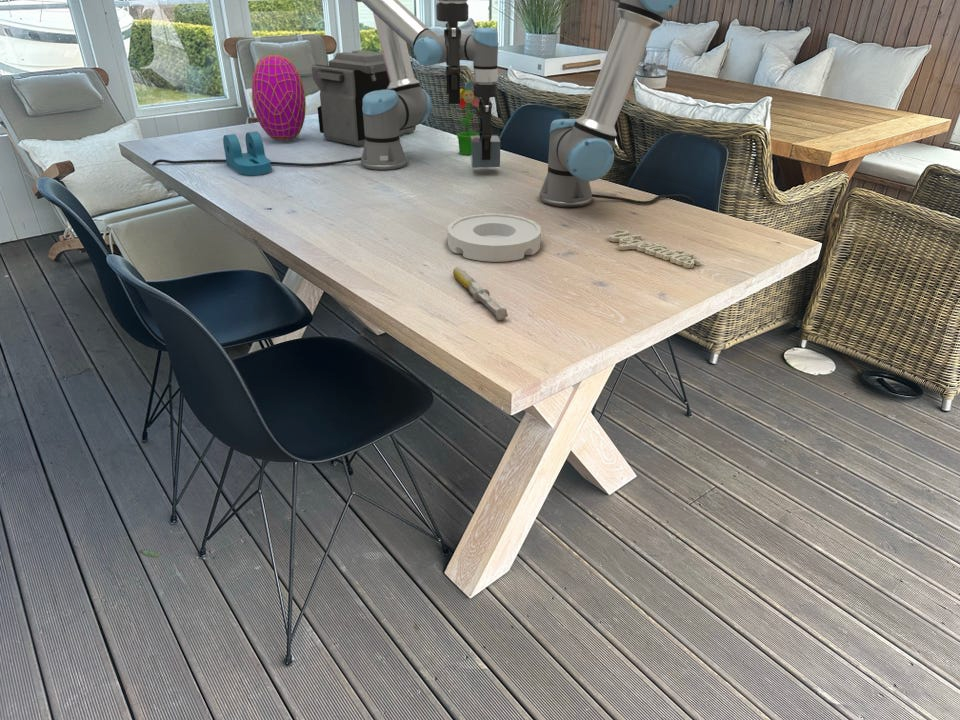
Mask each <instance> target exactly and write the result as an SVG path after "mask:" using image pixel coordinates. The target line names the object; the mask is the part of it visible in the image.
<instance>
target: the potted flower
mask: <svg viewBox="0 0 960 720" xmlns="http://www.w3.org/2000/svg"><path fill="white" fill-rule="evenodd" d="M479 102H480V101H479V99H478V97H475V96H474V94H473V82H472V81H471V80H468V81H467V82H466V83H464V88H460V104H458V106H459V108H460V109H461V110H462V109H464V108H465V107H466V112H467V113H466V118H463V119H461V120H460V123H461V124H462V125H463V126H464V125H465V126H466V131H461V132H458V133H457V134H456V138H457V142H458V150H459V153H460V155H461V154H462V155H465V156H466V155H469V156H471V136H480V133H478V132H475V131H470V119H472V118H473V117H474V115H475V114H474V113H470V105H472V106H473V107H475V108H479Z"/></svg>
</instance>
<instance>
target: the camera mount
mask: <svg viewBox="0 0 960 720" xmlns="http://www.w3.org/2000/svg"><path fill="white" fill-rule="evenodd" d="M222 140H223V141H222V143H223V149H224V150H223V151H224V156H225V159H226V162H225V163H226V165H227V166H228V167H230V168H231V169H232V170H234V171H236V172H237V173H238V174H239V175H244V176H260V175H265V174H268V173H271V172H272V164H271V163H270V162H271V159H270V158H268V157H267V156H266V153H265V145H264V141H263V139H262V136H261V134H260V132H258V131H247V132H246V133H245V146H246V152H243V151H242V150H243V149H242V146H241V142H240V140H239V138H238V135H236V134H235V133H231V134H224V135H223V138H222Z"/></svg>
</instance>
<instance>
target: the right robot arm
mask: <svg viewBox="0 0 960 720" xmlns="http://www.w3.org/2000/svg"><path fill="white" fill-rule="evenodd" d="M611 1H612V2H615V3H617V8H616V11H617V14H618V16H619V20H618V23H617V25H616V28H615V29H614V30H615V31H614V32H613V33H614V34H613V36H612V38H611V41H610V44H609V46H608V50H607V52H606V55H605V57H604V60H603V63H602V65H601V69H600V71H599V73H598V75H597V79H596V81H595V84H594V86H593V88H592V89H593V90H592V92H591V95H590V97H589V100H588V103H587V105H586V108H585V111H584V114H583V115H582V116H580V117H577V118H558V119H554V120H552V122H551V123H550V127H549V128H550V129H549V132H548V134H549V141H548V142H549V144H548V159H547V173H546V176H545V178H544V181H543V184H542V187H541V189H540V192H539V200H540V202H542V203H543V204H546V205H549V206H553V207H558V208H559V207H560V208H580V207H584V206H588V205H589V204H591V203H592V199H593V198H598V199H599V198H600V199H607V200H614V201H615V200H616V201H622V202H627V203H632V204H637V205H649V204H653V203H655V202H656V201H657V200H660V199H668V198H683V199H685V200H687V201H689V202H690V203H691V204H696V202H695V201H694V199H693V198H692V197H690V196H689V195H686V194H681V193H675V194H674V193H673V194H661V195H657V196H655V197H654V198H652V199H650V200H637V199H631V198H627V197H620V196H614V195H604V194H595V193H592V188H591V184H590V182H595V181H598V180H599V179H601V178H604V177H605V176H606V175H607V174H608V173H609V172H610V170H611V169H612V166H613V165H614V161H615V152H614V149H613V146H614V144H615V142H616V139H617V137H618V133H617V131H616V124H617V120H618V119H619V115H620V113H621V112H622V111H621V110H622V108H623V107H624V103H625V101H626V98H627V96H628V93H629V90H630V88H631V85H632V83H633V81H634V78H635V75H636V73H637V70H638V67H639V65H640V63H641V60H642V58H643V56H644V53H645V50H646V48H647V45H648V43H649V40H650V37H651V35H652V33H653V31H654V30H655V29H658V28H659V27H661V26H662V24H663V22H664V19H665V17H666V15H667V12H668V11H670V10H672V9H673V8H674V7H675V6H676V5H677V4H678V3H679V1H680V0H611ZM467 2H468V0H438V2H437V3H436V4H435V13H436V14H435V16H436V20H437V21H438V22H446V23H445V28H444V29H443V35H444V37H445V45H446V62H445V65H446V68H445V69H446V70H445V76H446V95H447V96H448V105H459V104H460V99H461V97H460V89H461V60H460V52H459V49H460V45H461V42H460V39H461V34H462V30H461V28H460V26H459V22H460V23H462V22H467V21H468V20H469V4H468V3H467Z"/></svg>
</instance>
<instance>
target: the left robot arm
mask: <svg viewBox="0 0 960 720" xmlns="http://www.w3.org/2000/svg"><path fill="white" fill-rule="evenodd" d="M354 1H355V2H357V3H362V4H363V5H365V7H367V8H368V9H369V10H370V11H371V12H372V14H373V19H374V23H375V27H376V32H377V36H378V40H379V45H380V48H381V53H383V57H384V62H385V66H386V70H387V74H388V79H389V85H388V87H387V90H379V91H378V90H377V91H372V92H370V93H367V94H366V95H365V96H364V97H363V107H362V111H363V120H364V132H365V145H364V146H363V150H362V154H361V157H356V158H355V157H354V158H348V159H341V160H336V161H327V162H314V163H312V162H311V163H310V162H309V163H305V162H304V163H301V162H284V161H282V162H281V161H270V163H271V165H276V166H292V167H321V166H322V167H323V166H324V167H325V166H332V165H339V164H345V163H353V162H360V164H361V167H363V168H365V169H368V170H372V171H389V170H391V171H392V170H396V169H397V170H398V169H401V168H403V167H405V166H407V157H406V154H405V152H404V149H403V146H402V143H401V136H400V134H399V129H403V128H407V127H411V126H416V127H417V126H419V125H421V124H423V123H425V122H426V121H427V120H428V119H429V116H430V114H431V111H432V100H431V97H430V95H429V92H427V91H426V90H425V89H424V88H422V87H421V82H420V81H419V80H418V79H417V78H415V76H414V70H413V71H412V66H411V62H410V61H411V57H410V54H409V49H408V46H409V47H411V48H412V49H413V56H414V57H415V60H416V61H417V62H418V63H419V64H420V65H423V66H434V65H439V64H444V63H446V45H445V37H444V34H443V35H437V34H436V33H435V32H434V31H433V30H432V29H431V28H429V26H427V25H426V24H425V23H424V22H423V21H422V20H420V18H418V17H417V16H416V15H415V14H414V13H412V11H411V10H409V9H408V8H407V7H406V6H405V5H404V4H403V3H402V2H400V0H354ZM460 42H461V45H460V49H459V52H460V61H467V62H473V63H472V65H473V71H471V75H473V82H474V83H473V84H472V89H473V94H474V96H475V97H476V98H479V99H478V100H479V101H480V102H479V107H478V114H479V124H478V129H479V136H483V137H480V139H482V160H490V150H491V136H492V108H493V103H492V101H491V99H490V98H495V97H497V96H498V83H497V82H498V81H499V67H498V57H499V55H498V54H499V33H498V30H497V29H496V28H492V27H476V28H474V29H473V32H472V34H468V33H467V34H466V33H461V39H460ZM159 163H167V164H172V165H173V164H174V165H176V164H177V165H179V164H181V165H182V164H196V163H197V164H199V163H200V164H201V163H227V162H226V158H225V159H224V158H223V159H222V158H221V159H219V158H218V159H215V158H214V159H189V160H169V159H162V158H161V159H160V158H159V159H156V160H154V161H153V162H152V164H151V166H156V165H157V164H159Z"/></svg>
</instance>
